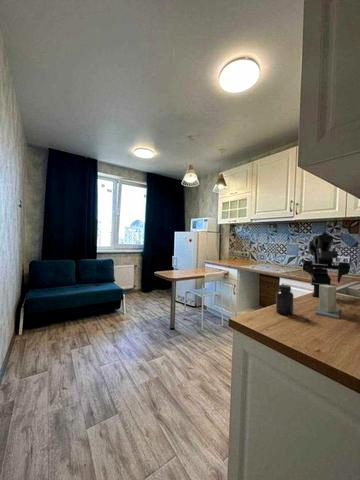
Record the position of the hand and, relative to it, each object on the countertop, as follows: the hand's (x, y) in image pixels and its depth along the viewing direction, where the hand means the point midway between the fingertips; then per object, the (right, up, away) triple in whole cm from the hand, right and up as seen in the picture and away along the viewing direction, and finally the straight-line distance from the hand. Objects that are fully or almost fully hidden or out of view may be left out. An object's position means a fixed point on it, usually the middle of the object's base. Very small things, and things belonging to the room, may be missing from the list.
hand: (326, 281), depth 97 cm
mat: (-2, -13, -3) cm, 14 cm away
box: (-3, -12, -4) cm, 13 cm away
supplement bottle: (-22, -13, -5) cm, 26 cm away
